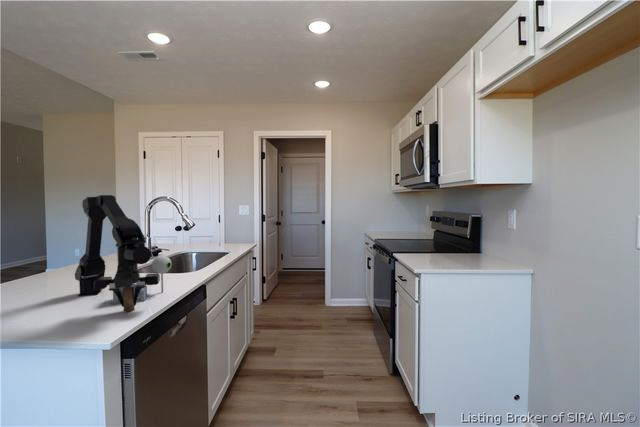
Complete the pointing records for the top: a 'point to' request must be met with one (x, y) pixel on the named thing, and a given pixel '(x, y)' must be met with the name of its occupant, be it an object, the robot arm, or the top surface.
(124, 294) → the peg
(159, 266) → the lollipop
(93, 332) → the top surface
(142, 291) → the cradle
